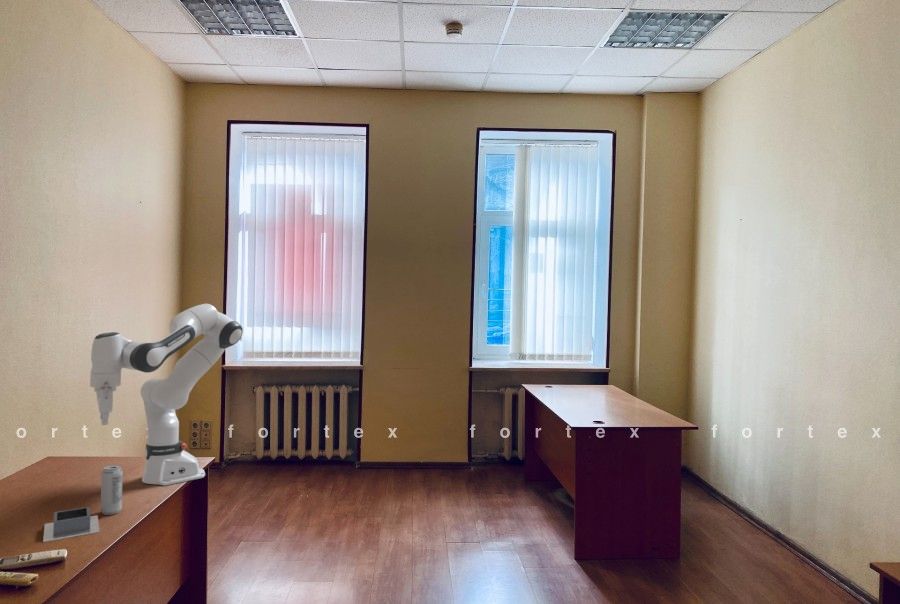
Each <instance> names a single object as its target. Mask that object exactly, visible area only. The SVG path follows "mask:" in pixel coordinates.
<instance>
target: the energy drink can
mask: <svg viewBox="0 0 900 604" xmlns="http://www.w3.org/2000/svg"><path fill="white" fill-rule="evenodd" d="M123 473H124V472H123V470H122V467H121V465H119V464H112V465H107V466H104V467H103V470H102V471H101V473H100V474H101V477H100V480H101V481H100V512H101V513H102V515H105V516H111V515H116V514H118V513H120V512H121V510H122V509H123V508H122V506H123V505H122V504H123Z"/></svg>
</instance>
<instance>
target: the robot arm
mask: <svg viewBox="0 0 900 604" xmlns="http://www.w3.org/2000/svg"><path fill="white" fill-rule="evenodd" d="M168 326H169V331H170V334H169V335H168V334H167V336H165V337H164V338H161V339H160V340H159V341H156V342H139V341H134V340H132V339H128V338H126V337H124V336H123V335H122V334H121V333H119V332H117V331H116V332H115V331H112V332H102V333H100V334H98V335H96V336H94V338H93V340H92V341H93V342H92V346H91V351H90V352H91V353H90V355H91V356H90V361H91V365H92V366H91V369H90V379H89V380H90V381H89V387H91V388H94V389H93V392H95V393H96V402H97V406H98V411H99V414H100V420H101V425H102V426H107V425H108V424H109V417H110V413H112V412H113V407H114V406H113V403H114V392H115V391H117V387H119V386H122V385H121V383H122V381H121V379H122V369H127V370H134V371H139V372H143V373H153V372H155V371H156V370H158V369H159V368H160V367H161V366H162V365H163V364H164V362H165V361H166V360H167V359H169V358H170V357H171V356H172V355H174V354H175V353H177V352H178V351H179V350H180V349H182V348H184V347H185V346H187V345H188V344H189V343H191V342H192V341H193V340H194V339H196V338H198V337H200V336H201V335H204V336H203V338H202V339H201V340H200V341H198V342H197V343H196V344H194V345H193V346H192V347H191V348H190V349H189V350H187V352H186V353H184V355H182V357H181V358H179V359H178V360H177V362H175V365H174V367H173V370H172V371H171V373H170V374H169V375H168V376H167V377H166V378H162V377H157V378H156V377H154V378H151V379H148V380H147V381H145V382H144V383H143V384H142V386H141V388H140V396H141V398H142V401H143V406H144V412H145V416H146V417H145V418H146V423H147V443H146V445H145V450H144V451H145V453H144V455H145V466H144V470H143V471H144V472H143V476H142V478H141V482H142V483H143V484H148V485H157V486H158V485H159V486H170V485H174V484H179V483H184V482H188V481H189V482H190V481H194V480H198V479H202V478H204V477H205V476H206V472H205V470H204V469H203V468H201V467H200V465H199V461H198V459H197V458H196V456H194V455H192V454H191V453H189V452H188V451H186V449H187V448H188V445H187V444H186V443H185V442H183V441H182V440H179V438H180V434H179V433H180V420H179V419H178V417H177V413H176V410H179V409H181V408H183V407H184V406H185V405H187V403H188V400H189V397H190V393H191V392H192V390H193V388H194V386H196V384H197V382H198V381H199V380H200V379H201V378H202V377H203V376H204V375H205V374H206V373H208V371H209V370H210V369H211V368H212V367H213V366H214V365H215V364H216V362H218V360H220V358H221V356H222V355H223V354H224V352H225V350H226V349H228V348H230V347H232V346H234V345H236V344H237V343H238V342H239V341H240V340H241V339H242V336H243V331H244V329H243V326H242V325H241V324H240V323H239V322H238V321H236V320H234V319H233V318H231V317H230V316H228V315H226V314H224V313H222V312H220V311H218V309H217V308H216V307H215V306H214V305H212V304H210V303H203V304H198V305H195V306H192V307H190V308H188V309H185V310H183V311H181V312H179V313H178V314H176V315H175V316H174V317H172V318H171V319H170V321H169V325H168Z"/></svg>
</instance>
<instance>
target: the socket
mask: <svg viewBox="0 0 900 604" xmlns="http://www.w3.org/2000/svg"><path fill="white" fill-rule="evenodd" d="M43 528H44V529H43V541H42V542H43V543H46V542H51V541H58V540H62V539H68V538H73V537H80V536H85V535H90V534H91V535H92V534H95V533H100V524H99V517H98V515H92V516H91V509H90V506H86V507H80V508H73V509H67V510H66V509H65V510H60V511H54V512H53V522H48V523H44V527H43Z"/></svg>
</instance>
